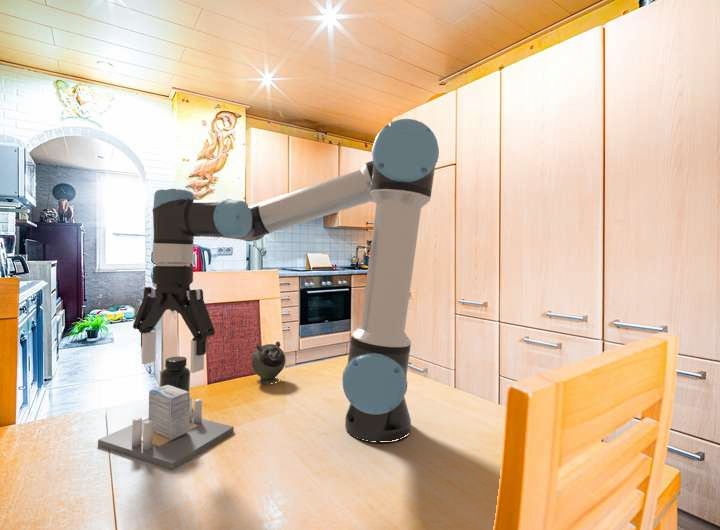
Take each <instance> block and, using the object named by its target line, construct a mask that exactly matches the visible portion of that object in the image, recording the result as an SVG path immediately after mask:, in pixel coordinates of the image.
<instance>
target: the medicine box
mask: <svg viewBox="0 0 720 530" xmlns="http://www.w3.org/2000/svg"><path fill="white" fill-rule="evenodd" d="M148 394H149V395H148V418H149V421H153V432H155V433H157V434H159V435H161V436H163V437H165V438H168V439H170V440H172V439H174V438H177V437H179V436H181V435H184V434H186V433H188V432H189V427H190V426H189V422H190V397H191V394H190V391H189V392H188V391H185V390H182V389H179V388H176V387H173V386H170V385H165V386H162V387H160V386H159V387H156V388H153V389H150V390H149V392H148Z"/></svg>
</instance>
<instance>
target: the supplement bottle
mask: <svg viewBox="0 0 720 530" xmlns="http://www.w3.org/2000/svg"><path fill="white" fill-rule="evenodd" d="M187 359H188V358H187V357H185V356H169V357H168V358H166V359H165V364H164V367H165V369H163V370H162V371H161V373H160V379H159V387H162V386H165V385H170V386H173V387H176V388H179V389H182V390H185V391H188V392H190V388H191V387H190V385H191V369H189V368H188V367H186V366H187Z"/></svg>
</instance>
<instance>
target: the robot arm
mask: <svg viewBox="0 0 720 530" xmlns="http://www.w3.org/2000/svg"><path fill="white" fill-rule="evenodd" d="M439 153H440V149H439V145H438V139H437V137H436V135H435V134H434V132H433V130H432V129H431V128H430V127H429V126H427V125H426V124H425V123H423V122H422V121H419V120H417V119H414V118H399V119H397V120H393V121H391V122H389V123H388V124H386V125H384V126H383V128H381V129H380V131H379V132H378V133H377V135H376V137H375V139H374V141H373V145H372V149H371V156H372V160H371V161H368V162H365V163H364V164H363V166H362V167H361V169H358V170H355V171H351V172H348V173H345V174H343V175H340V176H336V177H334V178H331V179H328V180H325V181H322V182H319V183H315V184H312V185H309V186H307V187H303V188H300V189H298V190H295V191H292V192H288V193H285V194H283V195H279V196H276V197H273V198H271V199H270V198H269V199H267V200H265V201H261V202H258V203H255V204H252V205H248V203H247V202H246V201H243V200H240V199H239V200H236V199H235V200H234V199H231V198H230V199H229V198H227V199H201V200H199V199H195V195H194V193H193V192H192V191H191V190H186V189H181V188H180V189H179V188H169V187H165V188H159V189H156V190H155V192H154V195H153V207H152V221H153V222H152V223H153V242H152V262H153V264H155V265H153V267H152V284H154V285H156V286H146V287H144V290H143V298H142V301H141V303H140V306H139V308H138V311H137V314H136V316H135V319H134V321H133V325H132V328H133V329H134V330H138V332H139V333H140V347H141V364H142V365H147V364H151V363H154V362H156V358H157V357H156V356H157V355H156V353H157V352H156V351H157V350H156V348H157V344H156V343H157V339H156V338H157V331H155V330H156V328H155V326H157V325H158V323H159V322H160V320H161V318H162V316H163V315H165V312H166V311H168V310H170V311H173V312H174V311H176V313H177V314H179V315H180V316H181V318H182V319H183V321H184V323H185V325H186V326H187V328H188V329H189V331H190V333H191V334H192V337H193V338H192V339H191V340H190V374H191V373H193V374H194V373H197V372H200V371H203V370H205V369H204V368H205V355H206V353H207V339H208V338H210V337H213V336H214V335H216V330H215V328H214V324H213V322H212V320H211V317H210V314H209V311H208V309H207V306H206V303H205V301H204V300H205V299H204V291H203V289H202V288H199V289H191V287H190V286H191V284H192V283H193V282H194V267H193V266H192V265H191V264H193V263H194V239H195V237H196V238H197V237H205V238H207V237H208V238H209V237H210V238H223V239H232V240H233V239H234V240H240V241H244V242H254V241H259V240H261V239H263V238H264V237H265V236H266V235H268V234H273V233H274V232H275V233H276V232H277V231H282V230H284V229H287V228H291V227H294V226H296V225H300V224H301V225H302V224H303V223H307V222H310V221H312V220H316V219H319V218H322V217H326V216H329V215H333V214H336V213H338V212H342V211H344V210H348V209H352V208H355V207H359V206H360V205H364V204H367V203H371V202H372V203H374V204H376V205H375V213H374V219H373V220H374V221H373V228H372V235H371V243H370V244H371V245H370V248H369V249H370V251H369V258H368V266H367V274H366V282H365V287H364V288H365V289H364V295H363V303H362V304H363V305H362V310H361V311H362V312H361V318H360V324H359V326H358V327H357V328H356V329H354V330H353V331H352V332H351V333H350V334H351V336H350V342H349V350H348V357H347V363H346V366H345V368H344V370H343V373H342V389H343V393H344V395H345V397H346V399H347V401H349V406H348V409H347V411H346V414H345V419H344V420H345V423H344V424H345V425H344V427H346V428H345V430H346V429H347V430H346V432H347V431H348V432H349V433H350V434H352V435H353V436H355V437H358V438H360V439H364V440H368V441H376V442H380V441H392V440H396V439H400V438H402V437H404V436H405V435H407V434H408V433H409V431H410V429H411V428H412V420H411V417H410V411H409V409H408V406H407V402H406V397H405V396H406V392H407V389H408V380H407V376H408V367H409V362H410V360H409V359H410V352H411V346H412V341H411V339H410V338H409V337H408V336H407V334H406V332H405V331H406V330H405V329H406V323H407V316H408V309H409V303H410V302H409V301H410V293H411V286H412V278H413V272H414V262H415V256H416V248H417V241H418V234H419V225H420V220H421V214H422V213H421V211H422V208H424V206H426V205H427V204H428V203H429V202H430V201H431V197H432V191H433V184H434V175H435V170H436V169H435V168H436V166H437V163H438V161H439V160H438V159H439V155H440V154H439ZM348 432H347V433H348ZM410 432H411V431H410ZM349 433H348V434H349ZM350 434H349V435H350ZM352 435H351V436H352ZM353 436H352V437H353ZM355 437H354V438H355ZM360 439H359V440H360Z"/></svg>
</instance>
